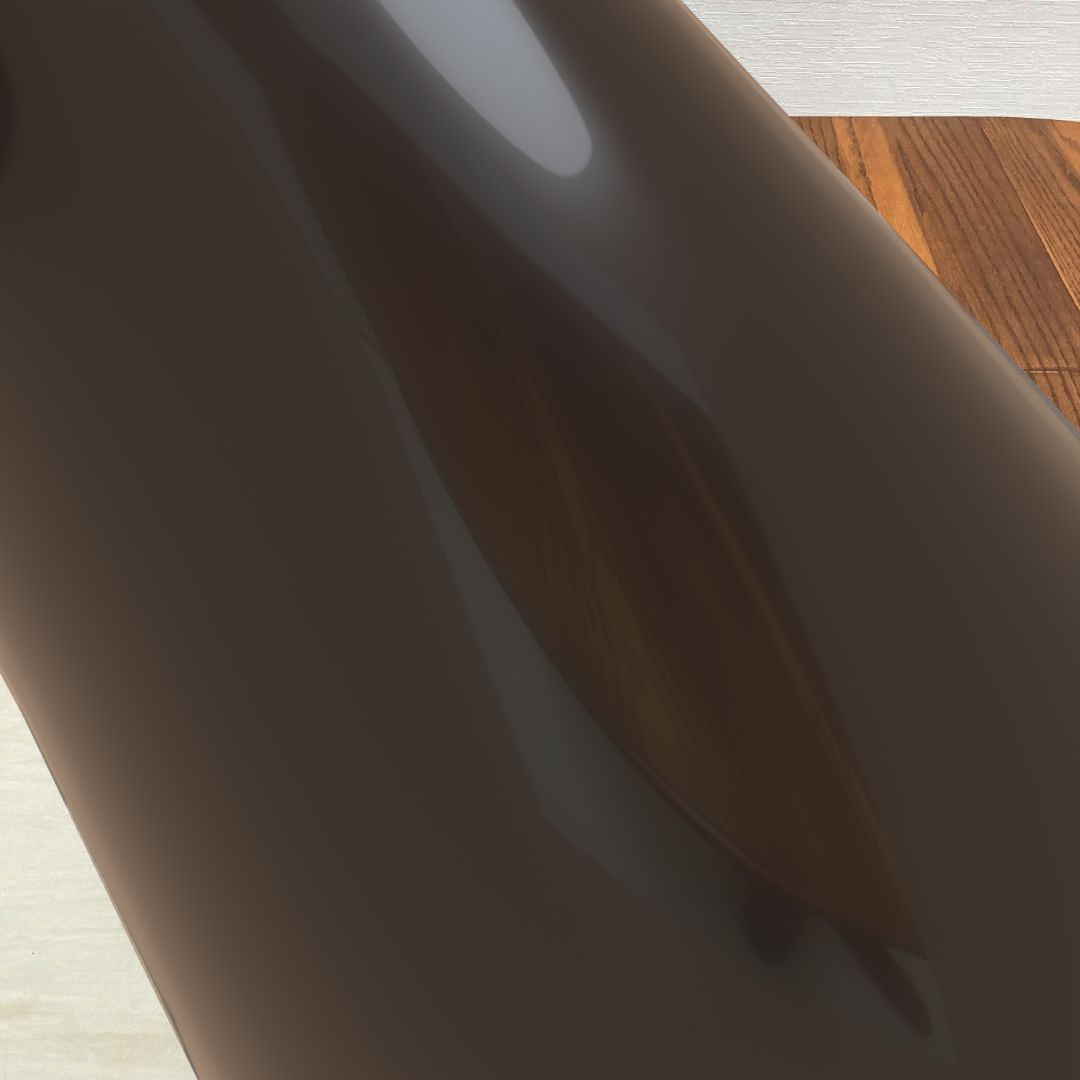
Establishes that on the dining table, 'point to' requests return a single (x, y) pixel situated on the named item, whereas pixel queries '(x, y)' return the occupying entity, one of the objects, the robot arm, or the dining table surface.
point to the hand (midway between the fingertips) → (458, 270)
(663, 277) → the robot arm
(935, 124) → the dining table surface
